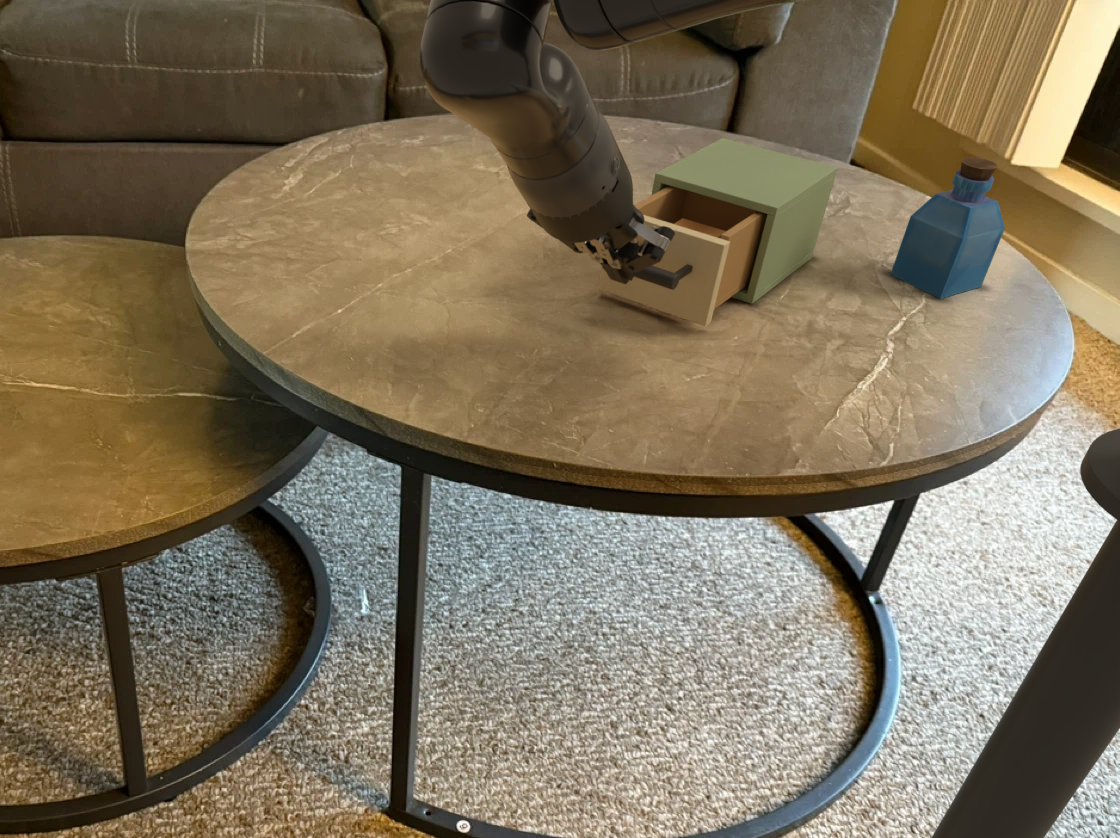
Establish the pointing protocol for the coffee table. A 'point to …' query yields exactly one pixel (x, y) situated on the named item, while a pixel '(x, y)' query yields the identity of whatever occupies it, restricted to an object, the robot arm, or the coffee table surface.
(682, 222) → the block
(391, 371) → the coffee table surface
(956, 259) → the perfume bottle
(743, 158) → the cabinet
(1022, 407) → the coffee table surface
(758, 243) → the drawer
